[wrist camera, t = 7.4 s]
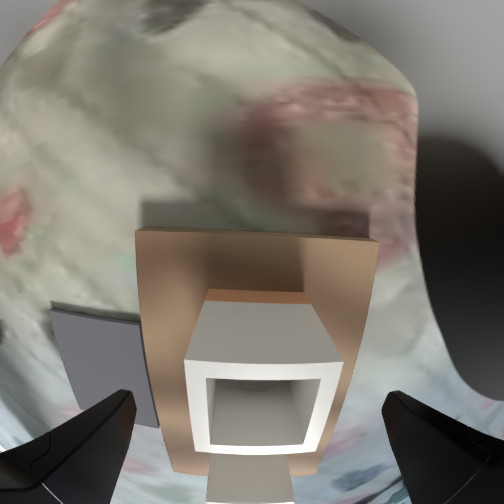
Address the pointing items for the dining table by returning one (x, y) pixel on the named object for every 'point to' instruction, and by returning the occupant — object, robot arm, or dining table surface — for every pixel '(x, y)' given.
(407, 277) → the dining table surface
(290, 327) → the sleeve loose
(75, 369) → the mat
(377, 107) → the dining table surface
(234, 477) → the sleeve seated
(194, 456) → the pin board
